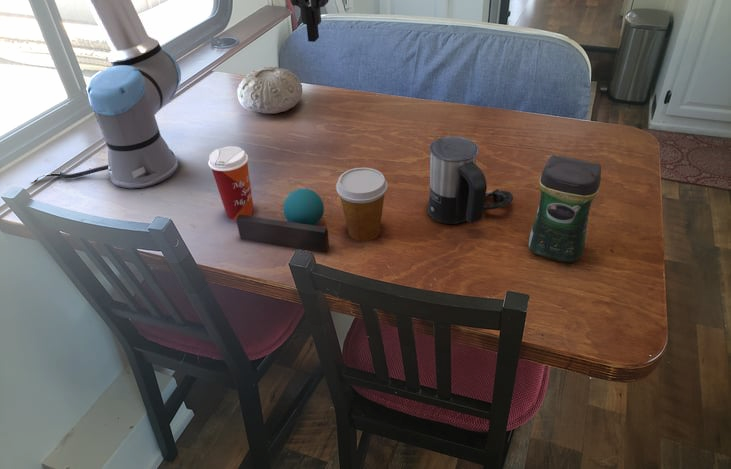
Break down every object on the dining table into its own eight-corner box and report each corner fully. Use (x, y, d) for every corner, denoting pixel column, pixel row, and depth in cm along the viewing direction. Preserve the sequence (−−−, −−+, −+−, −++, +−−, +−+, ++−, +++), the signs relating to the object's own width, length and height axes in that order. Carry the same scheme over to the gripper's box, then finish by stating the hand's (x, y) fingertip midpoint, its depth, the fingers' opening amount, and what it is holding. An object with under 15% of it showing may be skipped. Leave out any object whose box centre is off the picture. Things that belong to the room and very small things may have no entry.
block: (240, 239, 106) (235, 219, 103) (244, 234, 108) (239, 214, 104) (326, 253, 102) (324, 232, 99) (329, 247, 103) (327, 227, 100)
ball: (287, 182, 109) (284, 220, 111) (282, 190, 102) (279, 231, 104) (326, 187, 110) (323, 225, 112) (324, 195, 102) (320, 235, 104)
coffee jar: (585, 243, 101) (609, 157, 90) (577, 269, 96) (601, 181, 84) (533, 230, 105) (550, 145, 93) (523, 254, 99) (539, 167, 88)
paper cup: (251, 225, 110) (238, 166, 101) (215, 222, 111) (200, 163, 102) (264, 203, 116) (253, 145, 107) (230, 200, 117) (216, 143, 108)
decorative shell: (276, 127, 143) (271, 91, 136) (226, 113, 150) (219, 79, 144) (316, 100, 154) (312, 66, 148) (268, 89, 162) (262, 56, 156)
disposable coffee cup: (360, 211, 112) (358, 161, 105) (397, 227, 107) (397, 176, 100) (330, 234, 106) (324, 183, 99) (367, 253, 102) (364, 200, 94)
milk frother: (417, 211, 111) (419, 148, 102) (464, 180, 119) (470, 119, 110) (474, 241, 103) (481, 175, 94) (520, 205, 111) (531, 142, 102)
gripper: (261, -83, 101) (279, 43, 116) (326, -83, 98) (336, 47, 113) (277, -90, 107) (292, 32, 121) (339, -90, 104) (347, 35, 118)
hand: (313, 39), depth 117 cm, fingers closed
